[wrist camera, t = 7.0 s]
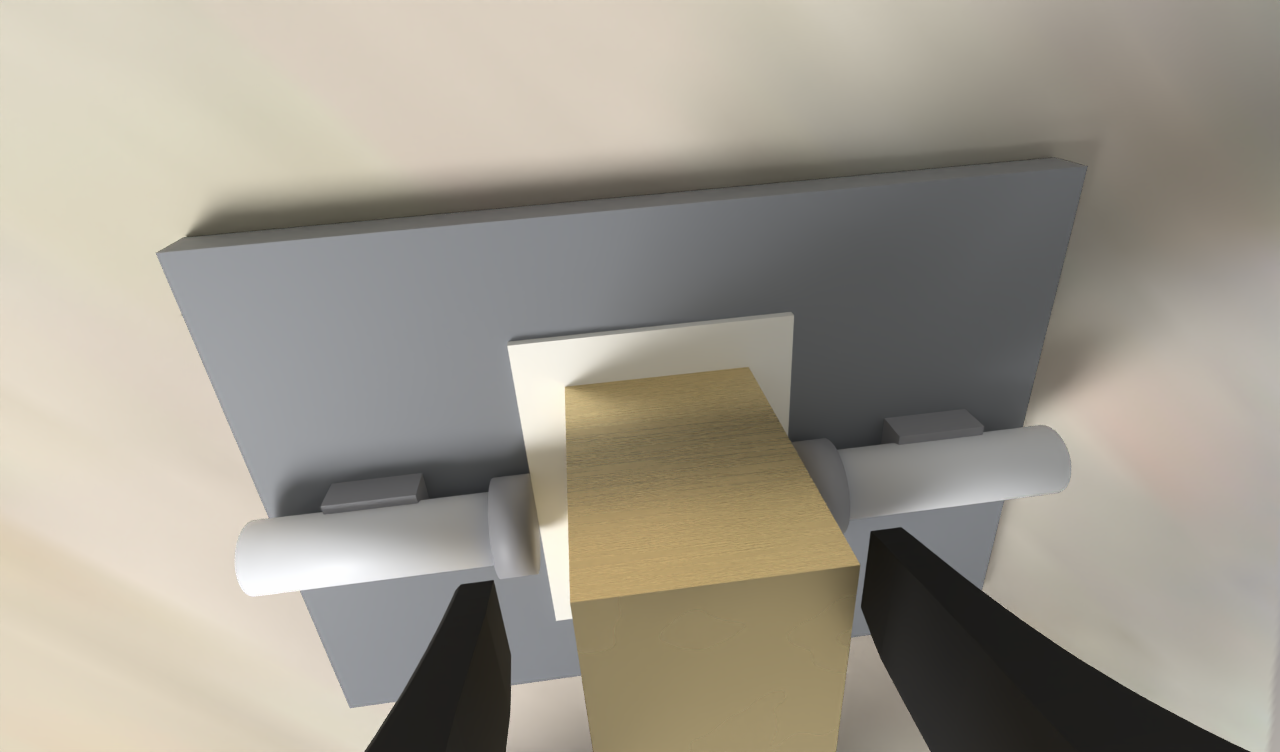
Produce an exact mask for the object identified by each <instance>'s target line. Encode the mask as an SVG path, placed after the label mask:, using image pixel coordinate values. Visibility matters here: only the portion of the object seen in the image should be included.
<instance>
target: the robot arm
mask: <svg viewBox="0 0 1280 752" xmlns="http://www.w3.org/2000/svg"><path fill="white" fill-rule="evenodd" d="M861 609H862V612H863V615H864V617H865V620H866V623H867V625H868V628H869V631H870V633H871V636H872V638H873V641H874V643H875V646H876V648H877V650H878V653H879V655H880V658H881V660H882V662H883V664H884V666H885V667H886V669H887V671H888V673H889V675H890V677H891V679H892V681H893V683H894V684H895V686H896V688H897V690H898V692H899V694H900V696H901V698H902V699H903V701H904V703H905V705H906V707H907V709H908V711H909V712H910V714H911V716H912V718H913V720H914V722H915V723H916V725H917V727H918V729H919V731H920V733H921V734H922V736H923V738H924V740H925V742H926V744H927V746H928V747H929V749H930V751H931V752H1250V751H1247V750H1245V749H1243V748H1241V747H1239V746H1237V745H1235V744H1232V743H1230V742H1228V741H1226V740H1224V739H1222V738H1220V737H1218V736H1216V735H1214V734H1212V733H1210V732H1208V731H1206V730H1204V729H1202V728H1200V727H1198V726H1196V725H1194V724H1192V723H1191V722H1189V721H1187V720H1185V719H1183V718H1181V717H1179V716H1177V715H1176V714H1174V713H1172V712H1170V711H1168V710H1166V709H1164V708H1162V707H1161V706H1159V705H1157V704H1155V703H1153V702H1151V701H1149V700H1148V699H1146V698H1144V697H1142V696H1140V695H1139V694H1137V693H1135V692H1133V691H1132V690H1130V689H1128V688H1126V687H1125V686H1123V685H1121V684H1119V683H1118V682H1116V681H1115V680H1113V679H1111V678H1110V677H1108V676H1106V675H1105V674H1103V673H1101V672H1100V671H1098V670H1096V669H1095V668H1093V667H1091V666H1090V665H1088V664H1087V663H1085V662H1083V661H1082V660H1080V659H1078V658H1077V657H1075V656H1074V655H1072V654H1071V653H1069V652H1068V651H1066V650H1064V649H1063V648H1061V647H1060V646H1058V645H1057V644H1055V643H1054V642H1053V641H1051V640H1050V639H1048V638H1047V637H1045V636H1044V635H1042V634H1041V633H1039V632H1038V631H1037V630H1035V629H1034V628H1032V627H1031V626H1029V625H1028V624H1026V623H1025V622H1023V621H1022V620H1021V619H1019V618H1018V617H1017V616H1015V615H1014V614H1012V613H1011V612H1010V611H1008V610H1007V609H1006V608H1004V607H1003V606H1001V605H1000V604H999V603H997V602H996V601H995V600H993V599H992V598H991V597H989V596H988V595H987V594H985V593H984V592H983V591H982V590H980V589H979V588H978V587H976V586H975V585H974V584H972V583H971V582H970V581H969V580H967V579H966V578H965V577H963V576H962V575H961V574H960V573H958V572H957V571H956V570H955V569H953V568H952V567H951V566H950V565H948V564H947V563H946V562H945V561H943V560H942V559H941V558H940V557H938V556H937V555H936V554H935V553H933V552H932V551H931V550H930V549H928V548H927V547H926V546H925V545H923V544H922V543H921V542H920V541H918V540H917V539H916V538H915V537H913V536H912V535H911V534H910V533H908V532H907V531H906V530H905V529H903V528H902V527H898V528H890V529H882V530H875V531H871V532H870V540H869V548H868V555H867V563H866V570H865V578H864V585H863V593H862V601H861ZM510 705H511V652H510V648H509V643H508V639H507V635H506V631H505V626H504V622H503V618H502V613H501V609H500V605H499V600H498V596H497V592H496V587H495V583H494V580H490V581H482V582H475V583H467V584H461V585H460V586H459V587H458V588H457V589H456V590H455V592H454V595H453V597H452V599H451V601H450V603H449V605H448V608H447V610H446V612H445V614H444V616H443V618H442V620H441V622H440V624H439V626H438V628H437V630H436V632H435V634H434V636H433V638H432V640H431V642H430V643H429V645H428V647H427V649H426V651H425V653H424V655H423V656H422V658H421V660H420V662H419V664H418V665H417V667H416V669H415V671H414V672H413V674H412V676H411V678H410V680H409V681H408V683H407V685H406V687H405V688H404V690H403V692H402V693H401V695H400V697H399V698H398V700H397V702H396V703H395V705H394V706H393V708H392V710H391V711H390V713H389V714H388V716H387V718H386V719H385V721H384V722H383V724H382V726H381V727H380V729H379V730H378V732H377V733H376V735H375V737H374V738H373V740H372V741H371V743H370V744H369V746H368V747H367V749H366V750H365V752H506V744H507V736H508V727H509V719H510Z"/></svg>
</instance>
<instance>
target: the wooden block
mask: <svg viewBox="0 0 1280 752" xmlns="http://www.w3.org/2000/svg"><path fill="white" fill-rule="evenodd" d="M565 421H566V462H567V502H568V543H569V583H570V606H571V613H572V619H573V625H574V632H575V638H576V645H577V651H578V658H579V664H580V670H581V677H582V683H583V690H584V696H585V703H586V709H587V715H588V722H589V728H590V735H591V741H592V748H593V752H836V748H837V740H838V732H839V725H840V717H841V709H842V702H843V694H844V686H845V679H846V671H847V664H848V656H849V648H850V641H851V633H852V625H853V618H854V610H855V603H856V595H857V587H858V580H859V572H860V563H859V562H858V560H857V558H856V556H855V554H854V553H853V551H852V549H851V547H850V546H849V544H848V542H847V540H846V538H845V537H844V535H843V533H842V531H841V530H840V528H839V526H838V524H837V523H836V521H835V519H834V517H833V515H832V514H831V512H830V510H829V508H828V507H827V505H826V503H825V501H824V499H823V498H822V496H821V494H820V492H819V491H818V489H817V487H816V485H815V484H814V482H813V480H812V478H811V476H810V475H809V473H808V471H807V469H806V468H805V466H804V464H803V462H802V460H801V459H800V457H799V455H798V453H797V452H796V450H795V448H794V446H793V445H792V443H791V441H790V439H789V437H788V436H787V434H786V432H785V430H784V429H783V427H782V425H781V423H780V421H779V420H778V418H777V416H776V414H775V413H774V411H773V409H772V407H771V406H770V404H769V402H768V400H767V398H766V397H765V395H764V393H763V391H762V390H761V388H760V386H759V384H758V382H757V381H756V379H755V377H754V375H753V374H752V372H751V370H750V368H749V367H743V368H734V369H724V370H715V371H706V372H697V373H687V374H678V375H669V376H660V377H650V378H641V379H632V380H622V381H613V382H604V383H595V384H585V385H576V386H567V387H565Z"/></svg>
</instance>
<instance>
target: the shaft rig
mask: <svg viewBox="0 0 1280 752" xmlns="http://www.w3.org/2000/svg"><path fill="white" fill-rule="evenodd" d="M1087 167H1088V166H1085V165H1081V164H1078V163H1074V162H1070V161H1066V160H1063V159H1059V158H1055V157H1054V158H1043V159H1032V160H1021V161H1010V162H999V163H989V164H978V165H967V166H956V167H945V168H934V169H923V170H912V171H902V172H891V173H880V174H869V175H858V176H847V177H836V178H826V179H815V180H804V181H793V182H782V183H771V184H760V185H749V186H739V187H728V188H717V189H706V190H695V191H684V192H673V193H663V194H652V195H641V196H630V197H619V198H608V199H597V200H586V201H576V202H565V203H554V204H543V205H532V206H521V207H510V208H499V209H489V210H478V211H467V212H456V213H445V214H434V215H423V216H413V217H402V218H391V219H380V220H369V221H358V222H347V223H336V224H326V225H315V226H304V227H293V228H282V229H271V230H260V231H250V232H239V233H228V234H217V235H206V236H195V237H184V238H181V239H180V240H178V241H176V242H174V243H173V244H171V245H169V246H167V247H166V248H164V249H162V250H160V251H159V252H157V253H156V255H157V257H158V259H159V262H160V264H161V266H162V269H163V271H164V273H165V276H166V278H167V280H168V283H169V285H170V287H171V290H172V292H173V294H174V297H175V299H176V302H177V304H178V306H179V309H180V311H181V313H182V316H183V318H184V320H185V323H186V325H187V327H188V330H189V332H190V334H191V337H192V339H193V341H194V344H195V346H196V348H197V351H198V353H199V355H200V358H201V360H202V362H203V365H204V367H205V369H206V372H207V374H208V376H209V379H210V381H211V384H212V386H213V388H214V391H215V393H216V395H217V398H218V400H219V402H220V405H221V407H222V409H223V412H224V414H225V416H226V419H227V421H228V423H229V426H230V428H231V430H232V433H233V435H234V437H235V440H236V442H237V444H238V447H239V449H240V451H241V454H242V456H243V458H244V461H245V463H246V466H247V468H248V470H249V473H250V475H251V477H252V480H253V482H254V484H255V487H256V489H257V491H258V494H259V496H260V498H261V501H262V503H263V505H264V508H265V510H266V512H267V515H268V517H269V518H268V519H260V520H253V521H250V522H249V523H247V524H246V525H245V526H244V528H243V529H242V531H241V533H240V535H239V538H238V541H237V545H236V550H235V570H236V576H237V579H238V582H239V585H240V587H241V588H242V590H243V591H244V592H245V593H246V594H247V595H249V596H261V595H269V594H277V593H285V592H293V591H300V592H301V594H302V597H303V599H304V601H305V604H306V606H307V608H308V611H309V613H310V615H311V618H312V620H313V622H314V625H315V627H316V629H317V632H318V634H319V637H320V639H321V641H322V644H323V646H324V648H325V651H326V653H327V655H328V658H329V660H330V662H331V665H332V667H333V669H334V672H335V674H336V676H337V679H338V681H339V683H340V686H341V688H342V690H343V693H344V695H345V697H346V700H347V702H348V704H349V707H350V708H354V707H361V706H368V705H376V704H383V703H390V702H397V700H398V698H399V697H400V695H401V693H402V692H403V690H404V688H405V687H406V685H407V683H408V681H409V680H410V678H411V676H412V674H413V672H414V671H415V669H416V667H417V665H418V664H419V662H420V660H421V658H422V656H423V655H424V653H425V651H426V649H427V647H428V645H429V643H430V642H431V640H432V638H433V636H434V634H435V632H436V630H437V628H438V626H439V624H440V622H441V620H442V618H443V616H444V614H445V612H446V610H447V608H448V605H449V603H450V601H451V599H452V597H453V595H454V592H455V590H456V589H457V588H458V587H459V586H460V585H461V584H467V583H475V582H482V581H490V580H494V583H495V587H496V592H497V596H498V600H499V605H500V609H501V613H502V618H503V622H504V626H505V631H506V635H507V639H508V643H509V648H510V652H511V685H517V684H524V683H532V682H539V681H546V680H553V679H560V678H567V677H574V676H581V670H580V664H579V658H578V651H577V645H576V638H575V632H574V625H573V619H572V613H571V606H570V583H569V543H568V502H567V462H566V421H565V387H567V386H576V385H585V384H595V383H604V382H613V381H622V380H632V379H641V378H650V377H660V376H669V375H678V374H687V373H697V372H706V371H715V370H724V369H734V368H743V367H749V368H750V370H751V372H752V374H753V375H754V377H755V379H756V381H757V382H758V384H759V386H760V388H761V390H762V391H763V393H764V395H765V397H766V398H767V400H768V402H769V404H770V406H771V407H772V409H773V411H774V413H775V414H776V416H777V418H778V420H779V421H780V423H781V425H782V427H783V429H784V430H785V432H786V434H787V436H788V437H789V439H790V441H791V443H792V445H793V446H794V448H795V450H796V452H797V453H798V455H799V457H800V459H801V460H802V462H803V464H804V466H805V468H806V469H807V471H808V473H809V475H810V476H811V478H812V480H813V482H814V484H815V485H816V487H817V489H818V491H819V492H820V494H821V496H822V498H823V499H824V501H825V503H826V505H827V507H828V508H829V510H830V512H831V514H832V515H833V517H834V519H835V521H836V523H837V524H838V526H839V528H840V530H841V531H842V533H843V535H844V537H845V538H846V540H847V542H848V544H849V546H850V547H851V549H852V551H853V553H854V554H855V556H856V558H857V560H858V562H859V563H860V572H859V580H858V587H857V595H856V603H855V610H854V618H853V625H852V633H851V637H858V636H865V635H871V633H870V631H869V628H868V625H867V623H866V620H865V617H864V615H863V612H862V609H861V601H862V593H863V585H864V578H865V570H866V563H867V555H868V548H869V540H870V532H871V531H875V530H882V529H890V528H898V527H902V528H903V529H905V530H906V531H907V532H908V533H910V534H911V535H912V536H913V537H915V538H916V539H917V540H918V541H920V542H921V543H922V544H923V545H925V546H926V547H927V548H928V549H930V550H931V551H932V552H933V553H935V554H936V555H937V556H938V557H940V558H941V559H942V560H943V561H945V562H946V563H947V564H948V565H950V566H951V567H952V568H953V569H955V570H956V571H957V572H958V573H960V574H961V575H962V576H963V577H965V578H966V579H967V580H969V581H970V582H971V583H972V584H974V585H975V586H976V587H978V588H979V589H980V590H982V587H983V583H984V579H985V575H986V571H987V567H988V563H989V559H990V555H991V551H992V547H993V543H994V539H995V535H996V531H997V527H998V523H999V519H1000V515H1001V511H1002V507H1003V503H1004V500H1008V499H1016V498H1024V497H1032V496H1040V495H1047V494H1055V493H1059V492H1061V491H1063V490H1064V489H1065V488H1066V487H1067V485H1068V483H1069V481H1070V477H1071V460H1070V455H1069V452H1068V449H1067V447H1066V445H1065V443H1064V441H1063V440H1062V438H1061V437H1060V436H1059V434H1058V433H1057V432H1056V431H1054V430H1053V429H1052V428H1050V427H1048V426H1044V425H1038V426H1029V427H1023V423H1024V419H1025V415H1026V411H1027V407H1028V403H1029V399H1030V395H1031V391H1032V387H1033V383H1034V379H1035V375H1036V371H1037V367H1038V363H1039V359H1040V355H1041V351H1042V347H1043V343H1044V339H1045V335H1046V331H1047V327H1048V323H1049V319H1050V315H1051V311H1052V307H1053V303H1054V299H1055V295H1056V291H1057V287H1058V283H1059V279H1060V275H1061V271H1062V267H1063V263H1064V259H1065V255H1066V251H1067V247H1068V243H1069V239H1070V235H1071V231H1072V227H1073V223H1074V219H1075V215H1076V211H1077V207H1078V203H1079V199H1080V195H1081V191H1082V187H1083V183H1084V179H1085V175H1086V171H1087Z"/></svg>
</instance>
